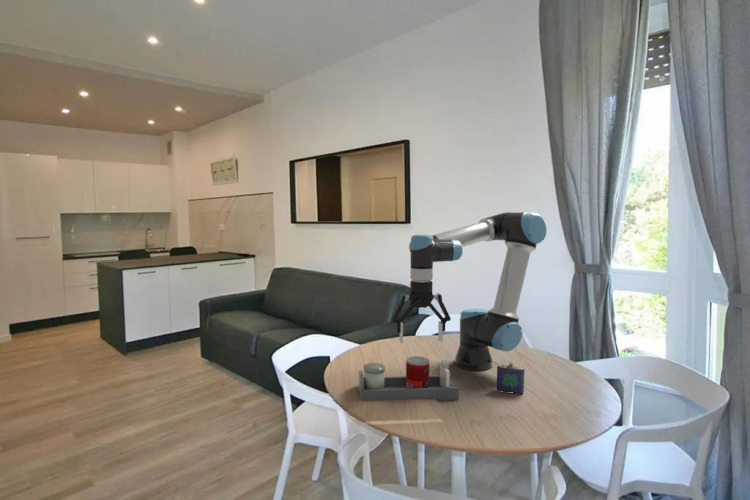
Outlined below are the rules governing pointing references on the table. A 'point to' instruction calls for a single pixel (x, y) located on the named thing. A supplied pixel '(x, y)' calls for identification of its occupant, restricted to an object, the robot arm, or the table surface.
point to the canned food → (417, 372)
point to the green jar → (374, 376)
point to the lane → (407, 389)
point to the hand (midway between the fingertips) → (420, 341)
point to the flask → (510, 378)
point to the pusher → (444, 374)
